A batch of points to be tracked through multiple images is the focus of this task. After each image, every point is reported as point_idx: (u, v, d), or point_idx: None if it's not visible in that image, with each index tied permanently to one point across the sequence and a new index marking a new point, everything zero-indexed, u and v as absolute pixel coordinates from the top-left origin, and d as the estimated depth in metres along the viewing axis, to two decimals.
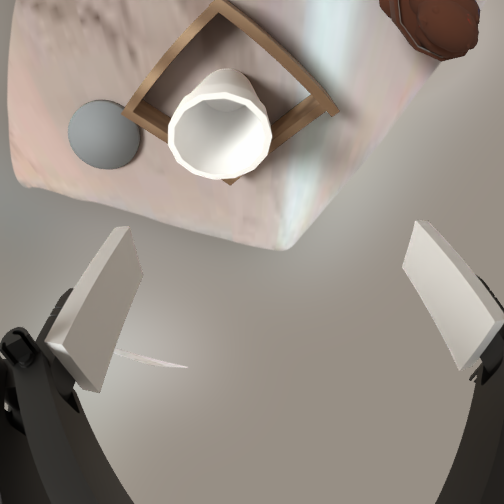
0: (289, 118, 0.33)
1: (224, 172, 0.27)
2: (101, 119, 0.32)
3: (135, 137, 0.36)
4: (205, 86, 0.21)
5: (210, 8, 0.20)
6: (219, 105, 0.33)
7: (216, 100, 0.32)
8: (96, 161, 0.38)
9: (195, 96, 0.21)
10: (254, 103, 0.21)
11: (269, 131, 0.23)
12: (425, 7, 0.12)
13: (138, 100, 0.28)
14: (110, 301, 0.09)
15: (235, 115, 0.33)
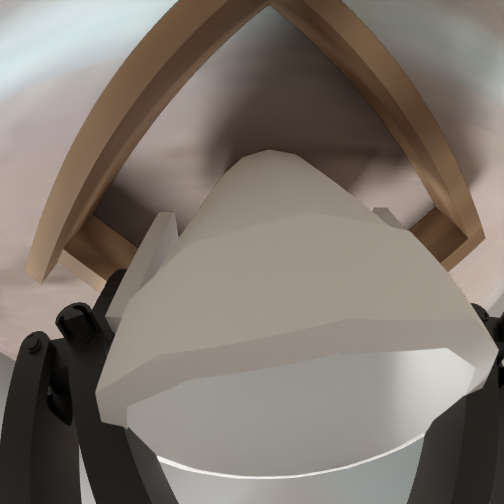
0: (348, 65, 0.10)
1: (447, 404, 0.05)
2: None
3: None
4: None
5: (63, 262, 0.13)
6: None
7: None
8: None
9: None
10: (112, 371, 0.04)
11: (294, 337, 0.03)
12: None
13: None
14: None
15: None
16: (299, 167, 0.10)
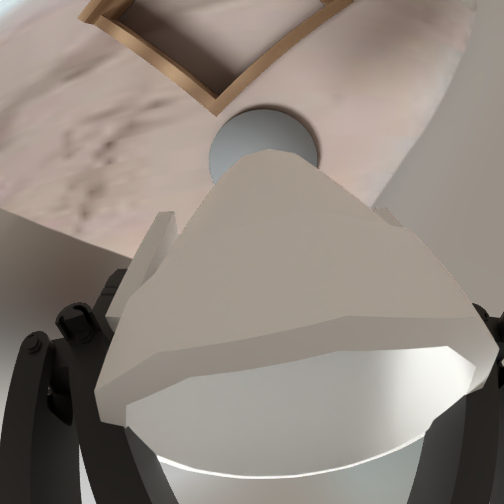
0: None
1: (447, 403, 0.05)
2: (236, 154, 0.30)
3: (273, 114, 0.27)
4: None
5: (97, 23, 0.17)
6: None
7: None
8: None
9: None
10: (111, 369, 0.04)
11: (294, 335, 0.03)
12: None
13: (199, 89, 0.23)
14: None
15: None
16: (299, 166, 0.10)
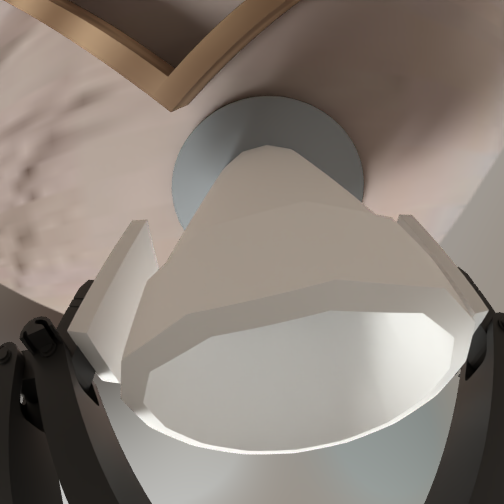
0: None
1: (434, 377, 0.07)
2: None
3: (287, 105, 0.14)
4: None
5: None
6: None
7: None
8: None
9: None
10: (138, 338, 0.05)
11: (296, 295, 0.04)
12: None
13: (137, 60, 0.10)
14: (130, 292, 0.10)
15: None
16: (295, 162, 0.11)
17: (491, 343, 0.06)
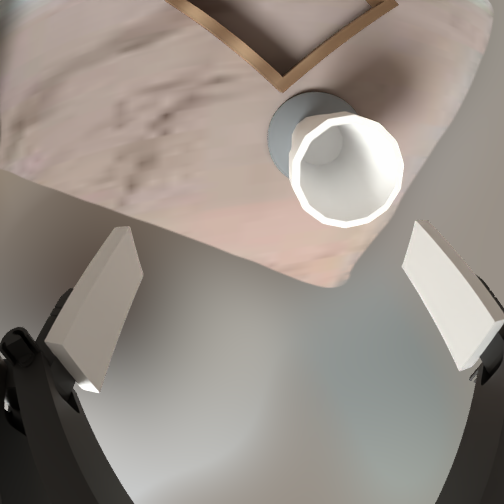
0: None
1: (395, 174, 0.20)
2: None
3: (328, 97, 0.28)
4: (289, 176, 0.23)
5: None
6: (333, 150, 0.31)
7: (327, 152, 0.31)
8: None
9: None
10: (310, 130, 0.19)
11: (347, 117, 0.18)
12: None
13: (268, 67, 0.24)
14: (110, 301, 0.09)
15: (346, 136, 0.29)
16: None
17: None
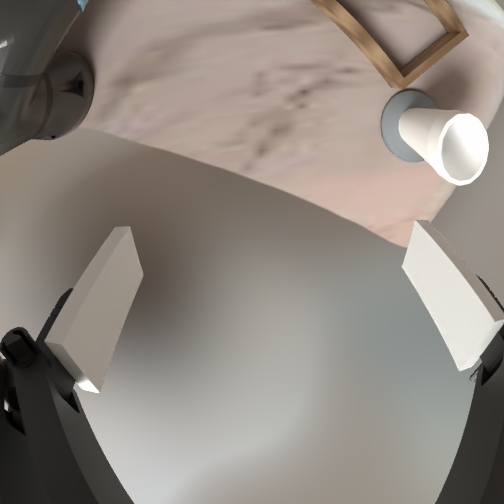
0: None
1: (483, 152, 0.25)
2: None
3: (422, 95, 0.33)
4: (428, 147, 0.27)
5: None
6: None
7: None
8: None
9: (436, 157, 0.26)
10: (448, 119, 0.23)
11: (466, 114, 0.23)
12: None
13: (395, 69, 0.28)
14: (110, 301, 0.09)
15: None
16: None
17: None
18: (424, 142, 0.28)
